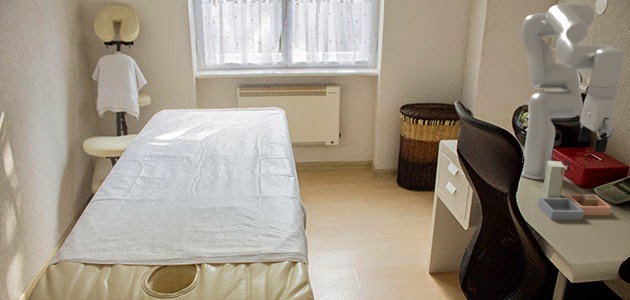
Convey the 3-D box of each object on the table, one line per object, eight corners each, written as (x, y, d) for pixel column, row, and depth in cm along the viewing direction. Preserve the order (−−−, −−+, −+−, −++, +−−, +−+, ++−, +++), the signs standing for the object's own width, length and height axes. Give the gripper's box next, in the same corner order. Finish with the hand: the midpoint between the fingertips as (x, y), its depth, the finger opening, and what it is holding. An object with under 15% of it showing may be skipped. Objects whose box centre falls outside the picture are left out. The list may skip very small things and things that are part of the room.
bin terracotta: (564, 203, 164) (566, 194, 163) (593, 204, 164) (595, 194, 163) (578, 217, 155) (580, 207, 154) (609, 217, 155) (611, 207, 154)
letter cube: (577, 205, 161) (579, 193, 160) (589, 205, 161) (592, 194, 160) (583, 211, 158) (585, 199, 156) (596, 211, 158) (598, 199, 156)
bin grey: (537, 207, 162) (539, 198, 160) (567, 207, 162) (569, 198, 160) (550, 221, 153) (552, 211, 151) (582, 221, 153) (584, 211, 151)
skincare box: (559, 201, 166) (566, 167, 162) (546, 200, 167) (551, 166, 163) (555, 193, 172) (561, 160, 168) (541, 192, 173) (547, 159, 169)
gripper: (576, 84, 154) (566, 137, 160) (604, 98, 138) (592, 156, 144) (600, 84, 154) (590, 137, 160) (631, 98, 138) (618, 156, 143)
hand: (591, 146), depth 152 cm, fingers open, 9 cm apart
